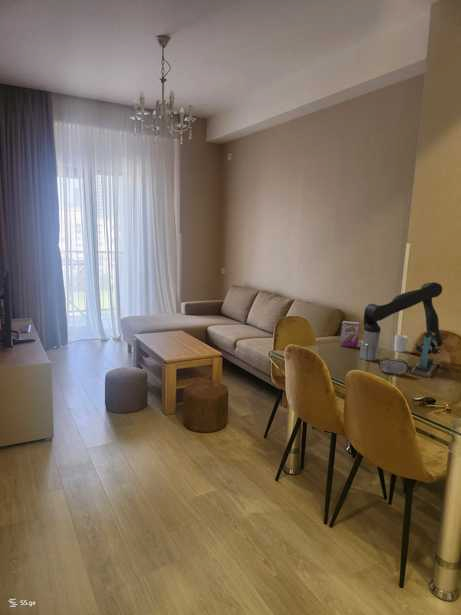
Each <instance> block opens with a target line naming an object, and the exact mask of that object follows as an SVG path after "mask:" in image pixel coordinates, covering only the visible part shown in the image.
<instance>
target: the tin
mask: <svg viewBox="0 0 461 615" xmlns="http://www.w3.org/2000/svg"><path fill="white" fill-rule="evenodd" d="M378 367H379V369H380V371H381V372H382V373H385V374H390V375H397V376H403V375H406V374H407V373H408V370H409V364H408V362H407V361H405V360H403V359H402V358H401V359H399V358H393V357H383V358H381V359H380V360H379V362H378Z"/></svg>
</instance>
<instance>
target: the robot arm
mask: <svg viewBox="0 0 461 615" xmlns="http://www.w3.org/2000/svg"><path fill="white" fill-rule="evenodd" d="M442 293H443V287H442V285H441V283H438V282H435V281H434V282H433V281H432V282H427V283H426V282H425V283H423V284H422V285H421V287H420V289H415V290H411V291H407V292H402V293H401V294H398V295H396V296H395V297H393V299H392V300H391V301H390V302H388V303H386V304H382V305H378V304H376V303H369V304H367V305H366V307H365V308H364V312H363V335H362V341H361V342H360V347H359V348H360V349H359V358H360V359H362V360H364V361H371V362H373V361H377V360H378V352H379V343H380V335H381V326H380V325H379V324H378V322H380V321H382V320H385V319H386V318H388V317H390V316H391V315H393V314H396V313H399V312H401V311H404V310H406V309H409V308H411V307H415V305H418V304H420V303H422V305H423V308H424V314H425V328H426V331H427V330H429V331H431V332H432V333H433V335H432V337H431V342H430V349H429V350H428V354H429V355H431V354H433V355H436V354H437V355H439V354H440V353H441V348H440V347H442V346H443V343H444V341H443V340H444V339H443V337H442V335H441V331H440V328H439V327H440V326H439V324H440V323H439V317H438V314H437V311H436V310H435V308H434V304H433V298H434V299H435V298H438V297H439V296H440V295H441V294H442ZM434 334H435V335H434ZM414 349H415V351H417V352H419V353H420V354H422V349H423V343H421V344H418V343H416V344H415V345H414Z"/></svg>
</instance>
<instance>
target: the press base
mask: <svg viewBox="0 0 461 615" xmlns="http://www.w3.org/2000/svg"><path fill="white" fill-rule="evenodd" d="M428 361H431V364H430V365H431V367H430V369H429V371H424V370H419V369H417V366H418V364H419V363H420V362H421V358H419V359H418V360H417V361H416V363H415V364H414V366H412V369H411V370H410V371H409V373H410V375H414V376H415V375H416V376H419V377H424V378H428V379H430V378H431V377H432V376H433V373H434V371H435V370H436V368H437V366H438V364H439V362H438V361H435V360H434V358H432V357H428Z"/></svg>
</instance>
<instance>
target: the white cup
mask: <svg viewBox="0 0 461 615" xmlns="http://www.w3.org/2000/svg"><path fill="white" fill-rule="evenodd" d="M408 339H409V337H408V335H404V334H395V335H394V346H393V347H394V348H393V350H394V351H395V352H397V353H398V352H399V353H405V352H406V349H407V343H408Z"/></svg>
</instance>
